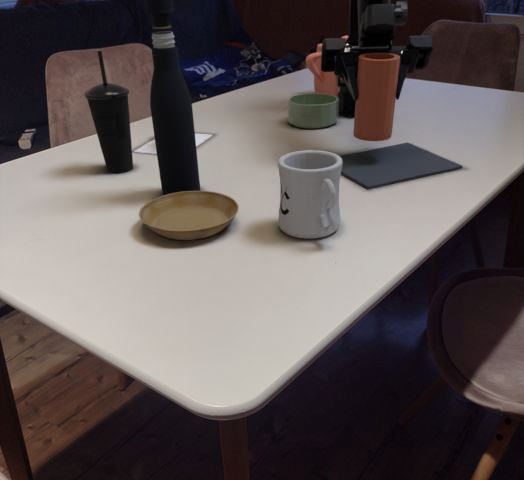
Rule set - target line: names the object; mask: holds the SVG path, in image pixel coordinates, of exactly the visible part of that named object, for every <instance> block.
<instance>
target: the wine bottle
mask: <svg viewBox="0 0 524 480" xmlns="http://www.w3.org/2000/svg"><path fill="white" fill-rule="evenodd" d="M144 4H145V6H144V7H145V12H146V14H151V23H152V30H154V32H152V33H151V39H152V42H151V43H152V45H153V47H151V56H152V65H153V71H152V77H151V82H150V83H151V84H150V94H149V107H150V108H149V109H150V115H151V122H152V128H153V129H152V130H153V136H154V139H155V144H156V151H157V154H156V158H157V164H158V171H159V172H158V173H159V179H160V186H161V192H162V193H161V194H162V196H164V195H167V194H171V193H177V192H184V191H202V190H201V182H200V181H201V179H200V172H199V163H198V153H197V151H198V150H197V147H196V140H195V133H196V132H195V131H196V130H195V121H194V111H193V101H192V98H191V94H190V91H189V87H188V83H187V82H186V80H185V77H184V73H182V70H181V68H180V61H179V51H178V47H177V46H176V45H175V44H176V41H175V34H174V32H173V31H169V30H170V29H171V28H172V24H171V19H170V13H173V12H174V10H175V9H174V1H173V0H144Z"/></svg>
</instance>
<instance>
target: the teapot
mask: <svg viewBox="0 0 524 480" xmlns="http://www.w3.org/2000/svg"><path fill="white" fill-rule="evenodd" d="M341 38H345V39H346V40H347V38H348V35H343V36H341ZM321 52H322V43H318V44H317V46H316V52H313V53H310V54H308V55H306V58H305V64H306V68H307V69H308V70H309V71H310V73H311V74H312V75H313V86H314V88H313V89H314V93H325V94H331V95H334V96H337V97H338V92H340V87H337V84H336V75H335V74H334V72H323V71H322V70H321ZM340 79H342V78H340Z"/></svg>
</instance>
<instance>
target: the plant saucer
mask: <svg viewBox="0 0 524 480" xmlns="http://www.w3.org/2000/svg"><path fill="white" fill-rule="evenodd" d="M239 209H240V206H239V203H238V201H236V200H235V199H234V198H233V197H231V196H228V195H227V194H224V193H221V192H215V191H208V190H201V191H184V192H177V193H171V194H167V195H164V196H163V195H161V196H158V197H155V198H153V199H151V200H150V201H148V202H147V203H146V202H145V204H144V205H143V206H141V208H140V210H139V211H138V217H139V219H140V220H141V222H142V223H143V224H144V225H145V226H146V227H147V228H148V229H150V230H152V231H153V232H155V233H156V234H158V235H160V236H161V237H163V238H167V239H169V240H170V239H171V240H176V241H194V240H195V241H196V240H200V239H204V238H209V237H212V236H214V235H217V234H218V233H220V232H222V230H224V229H225V228H227V226H228V225H229V224H230V223H231V222H232V221H233V220H234V218H235V217H236V216H237V214H238V213H239Z"/></svg>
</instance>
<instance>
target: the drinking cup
mask: <svg viewBox="0 0 524 480" xmlns="http://www.w3.org/2000/svg"><path fill="white" fill-rule="evenodd" d="M97 57H98V63H99V68H100V73H101V79H102V83H99V84H96V85H94V86H92V87H91V88H89V89H88V90H86V91H85V92H84V93H83V95H84V98H86V100H87V104H88V107H89V110H90V114H91V117H92V121H93V125H94V128H95V132H96V136H97V139H98V142H99V146H100V150H101V153H102V156H103V160H104V163H105V167H106V170H107V172H109V173H112V174H122V173H128V172H130V171H132V170H133V168H134V162H133V161H134V160H133V147H132V134H131V119H130V105H129V104H130V103H129V94H130V90H129V88H128V87H126V86H125V87H124V86H122V85H120V84H117V83H112V82H108V80H107V74H106V69H105V62H104V57H103V52H102V50H97Z"/></svg>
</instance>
